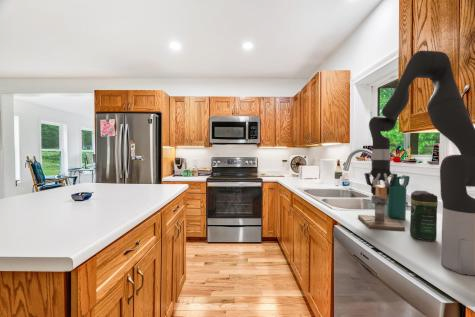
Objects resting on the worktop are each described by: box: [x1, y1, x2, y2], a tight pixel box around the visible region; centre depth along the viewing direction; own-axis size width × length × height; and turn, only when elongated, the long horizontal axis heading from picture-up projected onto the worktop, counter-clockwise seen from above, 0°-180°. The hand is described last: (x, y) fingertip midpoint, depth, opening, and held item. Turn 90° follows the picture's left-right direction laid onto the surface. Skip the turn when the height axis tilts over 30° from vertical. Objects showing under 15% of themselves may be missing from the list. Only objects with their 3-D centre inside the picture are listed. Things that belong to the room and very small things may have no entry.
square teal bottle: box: [385, 174, 410, 220], centre depth 128 cm, size 10×8×22 cm
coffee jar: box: [409, 190, 439, 242], centre depth 97 cm, size 10×8×19 cm
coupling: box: [371, 184, 389, 205], centre depth 116 cm, size 10×7×8 cm
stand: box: [357, 204, 406, 231], centre depth 116 cm, size 18×14×10 cm
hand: (380, 194), depth 116 cm, fingers open, 4 cm apart
